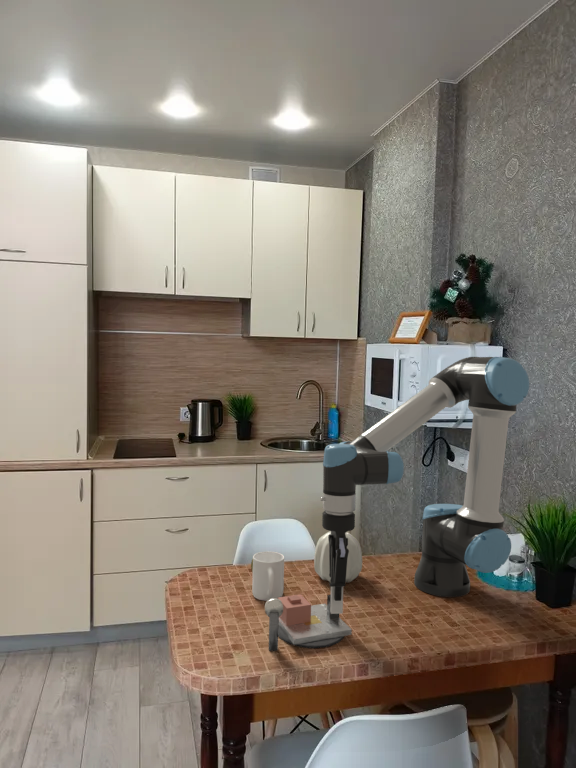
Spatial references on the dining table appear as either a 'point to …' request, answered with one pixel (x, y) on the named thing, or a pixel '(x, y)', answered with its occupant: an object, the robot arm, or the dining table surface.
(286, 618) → the cover
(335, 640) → the turntable base
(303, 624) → the turntable
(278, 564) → the mug
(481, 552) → the robot arm
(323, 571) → the vase
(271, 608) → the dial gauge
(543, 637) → the dining table surface
